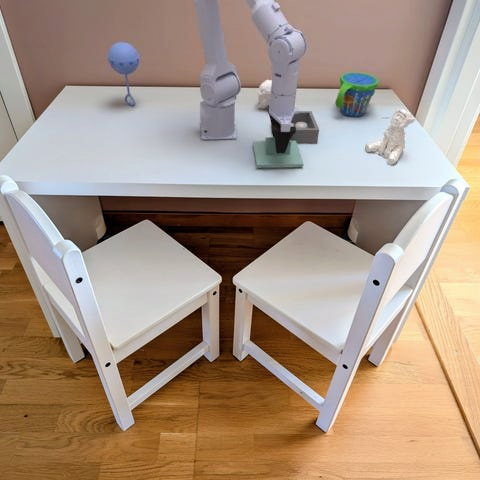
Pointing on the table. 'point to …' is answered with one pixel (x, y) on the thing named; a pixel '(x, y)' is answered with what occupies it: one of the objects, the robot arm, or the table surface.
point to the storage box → (305, 128)
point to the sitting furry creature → (392, 137)
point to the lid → (276, 154)
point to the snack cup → (355, 93)
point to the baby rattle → (124, 62)
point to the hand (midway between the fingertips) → (278, 144)
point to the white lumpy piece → (264, 94)
